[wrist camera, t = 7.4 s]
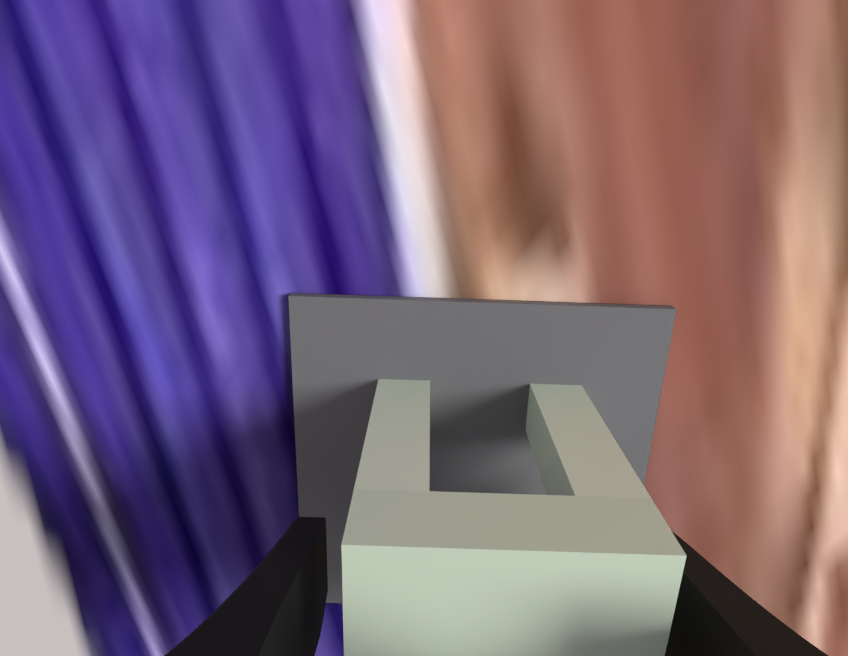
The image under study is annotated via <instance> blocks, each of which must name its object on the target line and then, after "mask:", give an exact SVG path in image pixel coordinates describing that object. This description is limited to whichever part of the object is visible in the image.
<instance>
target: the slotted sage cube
mask: <svg viewBox="0 0 848 656" xmlns="http://www.w3.org/2000/svg"><path fill="white" fill-rule="evenodd" d="M525 430H526V433H527V436H528V439H529V442H530V445H531V448H532V451H533V455H534V458H535V461H536V464H537V467H538V470H539V473H540V476H541V479H542V482H543V485H544V488H545V491H546V494H547V495H534V494H502V493H470V492H438V491H429V482H430V381H427V380H395V379H378V383H377V387H376V392H375V396H374V401H373V405H372V410H371V414H370V419H369V423H368V428H367V432H366V437H365V441H364V446H363V450H362V455H361V459H360V464H359V468H358V473H357V477H356V481H355V486H354V490H353V495H352V499H351V504H350V508H349V513H348V517H347V522H346V526H345V531H344V535H343V540H342V544H341V551H342V592H343V633H344V656H665V652H666V647H667V643H668V638H669V634H670V629H671V625H672V620H673V616H674V611H675V607H676V602H677V597H678V593H679V588H680V584H681V579H682V575H683V570H684V566H685V561H686V557H687V555H686V554H685V552H684V551H683V549H682V547H681V546H680V544H679V542H678V541H677V539H676V538H675V536H674V534H673V533H672V531H671V529H670V528H669V526H668V525H667V523H666V521H665V520H664V518H663V517H662V515H661V513H660V512H659V510H658V508H657V507H656V505H655V504H654V502H653V500H652V499H651V497H650V495H649V494H648V492H647V491H646V489H645V487H644V486H643V484H642V482H641V481H640V479H639V478H638V476H637V474H636V473H635V471H634V469H633V468H632V466H631V465H630V463H629V461H628V460H627V458H626V456H625V455H624V453H623V452H622V450H621V448H620V447H619V445H618V443H617V442H616V440H615V439H614V437H613V435H612V434H611V432H610V430H609V429H608V427H607V426H606V424H605V422H604V421H603V419H602V417H601V416H600V414H599V413H598V411H597V409H596V408H595V406H594V404H593V403H592V401H591V400H590V398H589V396H588V395H587V393H586V391H585V390H584V388H583V387H582V385H557V384H530V387H529V398H528V408H527V418H526V429H525Z"/></svg>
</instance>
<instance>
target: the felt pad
mask: <svg viewBox="0 0 848 656" xmlns="http://www.w3.org/2000/svg"><path fill="white" fill-rule="evenodd" d="M288 300H289V320H290V341H291V362H292V383H293V403H294V424H295V445H296V465H297V486H298V507H299V517H325V518H326V540H327V575H328V592H327V598H326V603H343V592H342V551H341V544H342V540H343V535H344V531H345V526H346V522H347V517H348V513H349V508H350V504H351V499H352V495H353V490H354V486H355V481H356V477H357V473H358V468H359V464H360V459H361V455H362V450H363V446H364V441H365V437H366V432H367V428H368V423H369V419H370V414H371V410H372V405H373V401H374V396H375V392H376V387H377V383H378V379H395V380H427V381H430V482H429V491H438V492H470V493H502V494H534V495H547V494H546V491H545V488H544V485H543V482H542V479H541V476H540V473H539V470H538V467H537V464H536V461H535V458H534V455H533V451H532V448H531V445H530V442H529V439H528V436H527V433H526V430H525V429H526V418H527V408H528V398H529V387H530V384H557V385H582V387H583V388H584V390H585V391H586V393H587V395H588V396H589V398H590V400H591V401H592V403H593V404H594V406H595V408H596V409H597V411H598V413H599V414H600V416H601V417H602V419H603V421H604V422H605V424H606V426H607V427H608V429H609V430H610V432H611V434H612V435H613V437H614V439H615V440H616V442H617V443H618V445H619V447H620V448H621V450H622V452H623V453H624V455H625V456H626V458H627V460H628V461H629V463H630V465H631V466H632V468H633V469H634V471H635V473H636V474H637V476H638V478H639V479H640V481H641V482H642V484H643V486H644V481H645V476H646V470H647V465H648V459H649V454H650V449H651V443H652V438H653V432H654V427H655V422H656V416H657V411H658V406H659V400H660V395H661V389H662V384H663V379H664V373H665V368H666V362H667V357H668V352H669V346H670V341H671V335H672V330H673V325H674V319H675V314H676V309H675V308H674V307H672V306H659V305H630V304H601V303H571V302H542V301H513V300H483V299H454V298H425V297H395V296H366V295H336V294H307V293H291V294H290V295H289V296H288Z"/></svg>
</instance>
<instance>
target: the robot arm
mask: <svg viewBox="0 0 848 656" xmlns="http://www.w3.org/2000/svg"><path fill="white" fill-rule="evenodd" d="M672 533H673V532H672ZM673 534H674V536H675V538H676V539H677V541H678V542H679V544H680V546H681V547H682V549H683V551H684V552H685V554H686V555H687V557H686V561H685V566H684V570H683V575H682V579H681V584H680V588H679V593H678V597H677V602H676V607H675V611H674V616H673V620H672V625H671V629H670V634H669V638H668V643H667V647H666V652H665V656H828V655H827V654H825V653H824V652H822V651H821V650H819V649H818V648H816V647H815V646H813V645H812V644H811V643H809V642H808V641H806V640H805V639H804V638H802V637H801V636H800V635H798V634H797V633H796V632H794V631H793V630H792V629H790V628H789V627H788V626H786V625H785V624H784V623H782V622H781V621H780V620H778V619H777V618H776V617H775V616H773V615H772V614H771V613H769V612H768V611H767V610H766V609H764V608H763V607H762V606H761V605H759V604H758V603H757V602H756V601H754V600H753V599H752V598H751V597H749V596H748V595H747V594H746V593H744V592H743V591H742V590H741V589H740V588H738V587H737V586H736V585H735V584H734V583H732V582H731V581H730V580H729V579H728V578H727V577H725V576H724V575H723V574H722V573H721V572H720V571H718V570H717V569H716V568H715V567H714V566H713V565H711V564H710V563H709V562H708V561H707V560H706V559H704V558H703V557H702V556H701V555H700V554H699V553H697V552H696V551H695V550H694V549H693V548H692V547H690V546H689V545H688V544H687V543H686V542H685V541H683V540H682V539H681V538H680V537H679V536H677V535H676V534H675V533H673ZM327 592H328V575H327V540H326V518H325V517H298V518H297V519H296V520H295V521H294V522H293V523H292V524H291V526H290V527H289V528H288V530H287V531H286V532H285V534H284V535H283V536H282V537H281V539H280V540H279V541H278V542H277V544H276V545H275V546H274V547H273V548H272V550H271V551H270V552H269V553H268V554H267V556H266V557H265V558H264V559H263V560H262V561H261V563H260V564H259V565H258V566H257V567H256V568H255V569H254V570H253V572H252V573H251V574H250V575H249V576H248V577H247V578H246V580H245V581H244V582H243V583H242V584H241V585H240V586H239V587H238V588H237V589H236V590H235V591H234V592H233V593H232V594H231V595H230V596H229V597H228V598H227V599H226V600H225V601H224V602H223V603H222V604H221V605H220V606H219V607H218V609H217V610H216V611H215V612H214V613H212V614H211V615H210V616H209V617H208V618H207V619H206V620H205V621H204V622H203V623H202V624H201V625H200V626H199V627H198V628H196V629H195V630H194V631H193V632H192V633H191V634H190V635H189V636H187V637H186V638H185V639H184V640H183V641H182V642H180V643H179V644H178V645H177V646H176V647H175V648H173V649H172V650H171V651H170V652H169V653H167V654H166V655H165V656H314V655H315V651H316V648H317V644H318V641H319V637H320V633H321V627H322V622H323V616H324V610H325V604H326V598H327Z"/></svg>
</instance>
